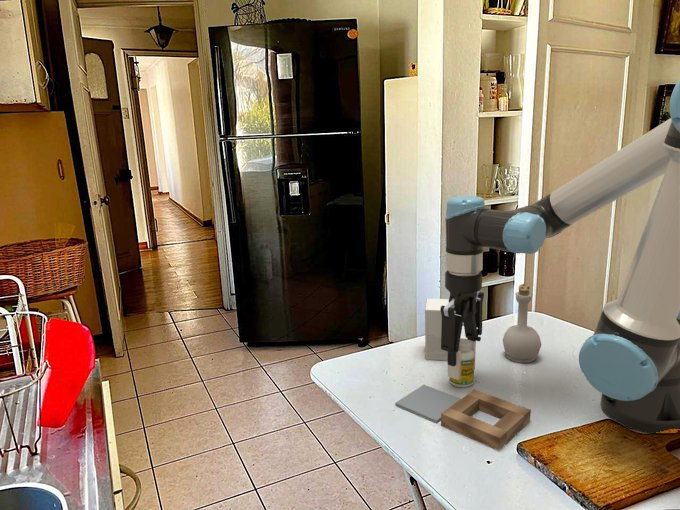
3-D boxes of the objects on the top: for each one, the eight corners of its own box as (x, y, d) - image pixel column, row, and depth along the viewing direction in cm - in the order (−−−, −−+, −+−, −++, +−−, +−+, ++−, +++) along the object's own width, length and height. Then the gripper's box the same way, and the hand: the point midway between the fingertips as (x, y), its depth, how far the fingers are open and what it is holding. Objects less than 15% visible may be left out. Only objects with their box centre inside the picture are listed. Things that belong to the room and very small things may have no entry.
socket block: (530, 421, 100) (530, 409, 99) (499, 450, 91) (499, 438, 91) (473, 400, 108) (474, 389, 107) (440, 425, 100) (441, 413, 99)
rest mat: (464, 402, 107) (464, 399, 107) (436, 423, 100) (436, 420, 100) (423, 386, 114) (423, 384, 114) (395, 405, 107) (395, 402, 107)
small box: (426, 346, 134) (426, 297, 131) (451, 347, 133) (452, 298, 130) (424, 360, 127) (424, 309, 123) (451, 361, 125) (452, 310, 122)
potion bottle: (543, 353, 128) (547, 282, 123) (534, 367, 121) (539, 293, 116) (507, 346, 132) (510, 277, 128) (496, 360, 125) (499, 288, 121)
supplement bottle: (461, 374, 119) (461, 334, 117) (479, 383, 115) (480, 342, 112) (443, 381, 116) (444, 340, 114) (461, 390, 112) (462, 349, 109)
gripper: (470, 258, 118) (468, 353, 124) (422, 278, 105) (422, 382, 111) (501, 264, 113) (497, 362, 119) (455, 285, 100) (453, 394, 106)
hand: (461, 372), depth 115 cm, fingers closed on supplement bottle, 5 cm apart
